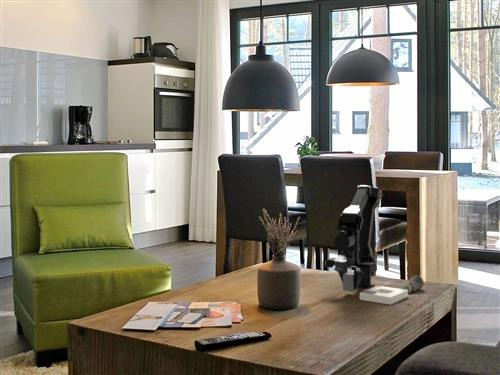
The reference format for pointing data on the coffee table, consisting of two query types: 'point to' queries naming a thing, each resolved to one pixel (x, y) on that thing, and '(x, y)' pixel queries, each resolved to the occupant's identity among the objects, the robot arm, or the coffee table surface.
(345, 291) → the plug
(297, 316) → the coffee table surface
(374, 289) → the socket plate
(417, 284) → the stone
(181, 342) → the coffee table surface
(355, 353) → the coffee table surface
